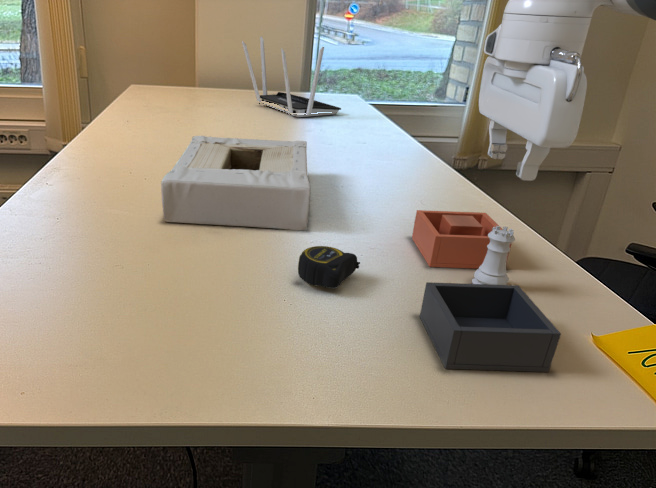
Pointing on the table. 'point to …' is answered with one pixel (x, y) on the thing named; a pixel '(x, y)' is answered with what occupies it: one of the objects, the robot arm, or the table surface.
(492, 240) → the rook chess piece
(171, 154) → the table surface
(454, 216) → the terracotta block
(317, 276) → the tape measure
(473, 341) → the charcoal bin
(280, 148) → the box
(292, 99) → the wireless router
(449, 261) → the terracotta bin
